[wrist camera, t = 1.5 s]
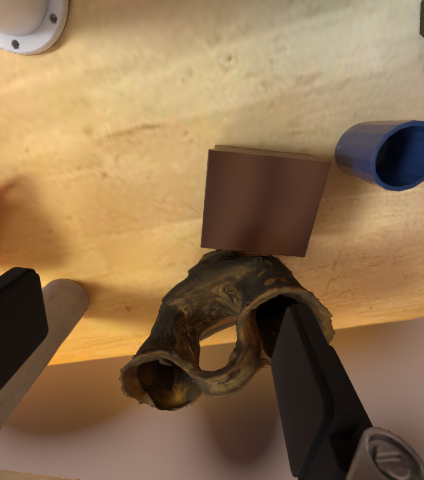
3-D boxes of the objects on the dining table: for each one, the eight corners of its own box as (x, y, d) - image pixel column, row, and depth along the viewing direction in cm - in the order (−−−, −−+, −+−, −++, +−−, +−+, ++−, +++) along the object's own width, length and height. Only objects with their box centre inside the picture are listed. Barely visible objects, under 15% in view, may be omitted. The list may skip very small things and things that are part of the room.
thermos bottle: (37, 299, 45) (-197, 522, 20) (55, 270, 43) (-188, 484, 17) (77, 322, 47) (-90, 551, 22) (97, 295, 45) (-66, 521, 19)
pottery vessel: (176, 326, 47) (148, 451, 29) (141, 283, 43) (83, 396, 25) (303, 269, 41) (368, 382, 23) (275, 214, 37) (326, 296, 19)
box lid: (201, 244, 32) (200, 247, 32) (208, 149, 28) (208, 149, 27) (302, 254, 32) (304, 257, 32) (328, 160, 28) (331, 161, 27)
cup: (343, 119, 32) (385, 117, 24) (396, 124, 32) (456, 124, 24) (328, 173, 35) (361, 187, 27) (377, 177, 35) (425, 193, 27)
